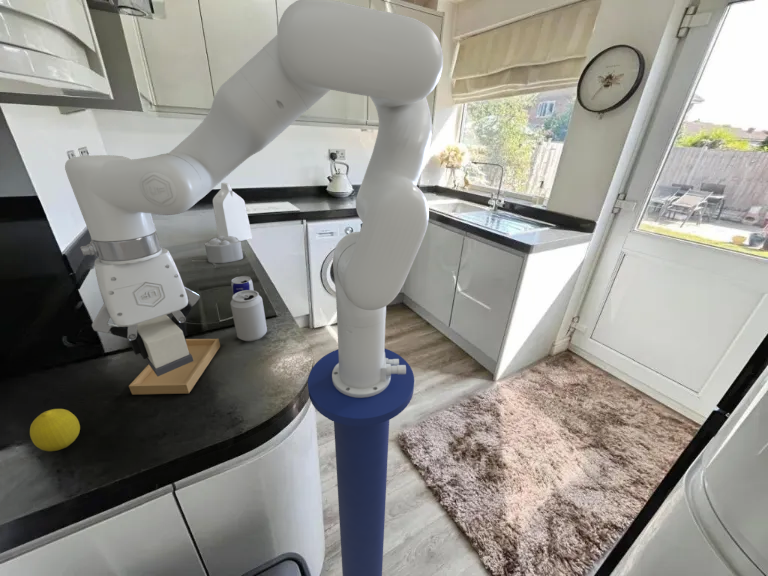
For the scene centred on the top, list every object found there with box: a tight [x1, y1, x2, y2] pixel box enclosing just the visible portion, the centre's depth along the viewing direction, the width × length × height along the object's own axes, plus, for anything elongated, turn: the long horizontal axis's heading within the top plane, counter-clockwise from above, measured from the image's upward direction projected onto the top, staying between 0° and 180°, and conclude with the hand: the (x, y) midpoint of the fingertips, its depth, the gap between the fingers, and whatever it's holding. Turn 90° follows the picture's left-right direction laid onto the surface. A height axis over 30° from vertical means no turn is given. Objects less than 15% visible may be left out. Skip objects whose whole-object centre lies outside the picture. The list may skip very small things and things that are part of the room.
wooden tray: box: [128, 338, 221, 395], centre depth 73 cm, size 11×16×2 cm
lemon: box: [29, 408, 81, 452], centre depth 53 cm, size 6×6×8 cm
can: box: [229, 290, 268, 342], centre depth 83 cm, size 8×8×12 cm
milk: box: [212, 182, 253, 242], centre depth 154 cm, size 12×12×26 cm
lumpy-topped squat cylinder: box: [204, 235, 244, 264], centre depth 133 cm, size 10×13×9 cm
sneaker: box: [137, 314, 193, 376], centre depth 56 cm, size 13×5×6 cm, turn 48°
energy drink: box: [230, 275, 255, 296], centre depth 91 cm, size 5×5×12 cm
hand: (163, 346), depth 55 cm, fingers closed on sneaker, 5 cm apart
